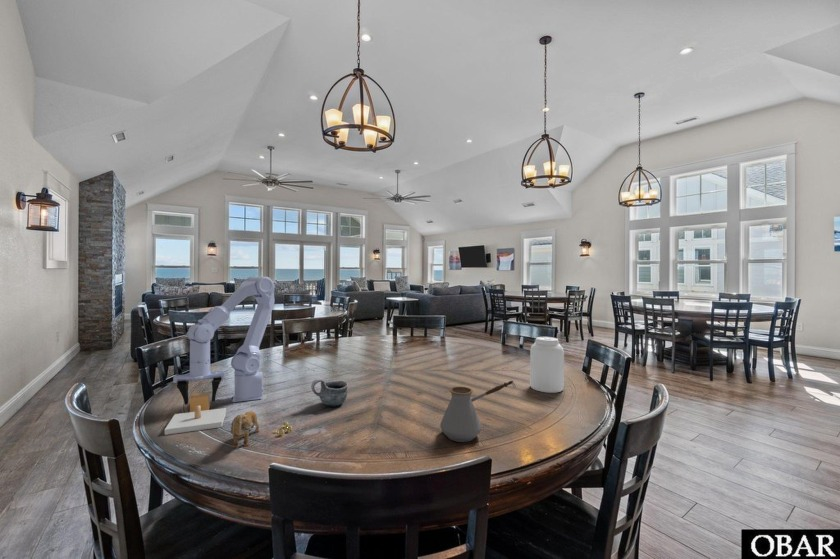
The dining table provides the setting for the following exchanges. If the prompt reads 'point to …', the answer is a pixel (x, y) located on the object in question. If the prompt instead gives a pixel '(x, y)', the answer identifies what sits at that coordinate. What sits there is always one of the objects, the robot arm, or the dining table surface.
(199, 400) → the orange cube
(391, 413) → the dining table surface
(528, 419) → the dining table surface
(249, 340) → the robot arm
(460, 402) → the coffee pot
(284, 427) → the dice set
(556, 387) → the white jar
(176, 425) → the plate
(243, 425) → the lion figurine
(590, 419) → the dining table surface
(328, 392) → the mug
